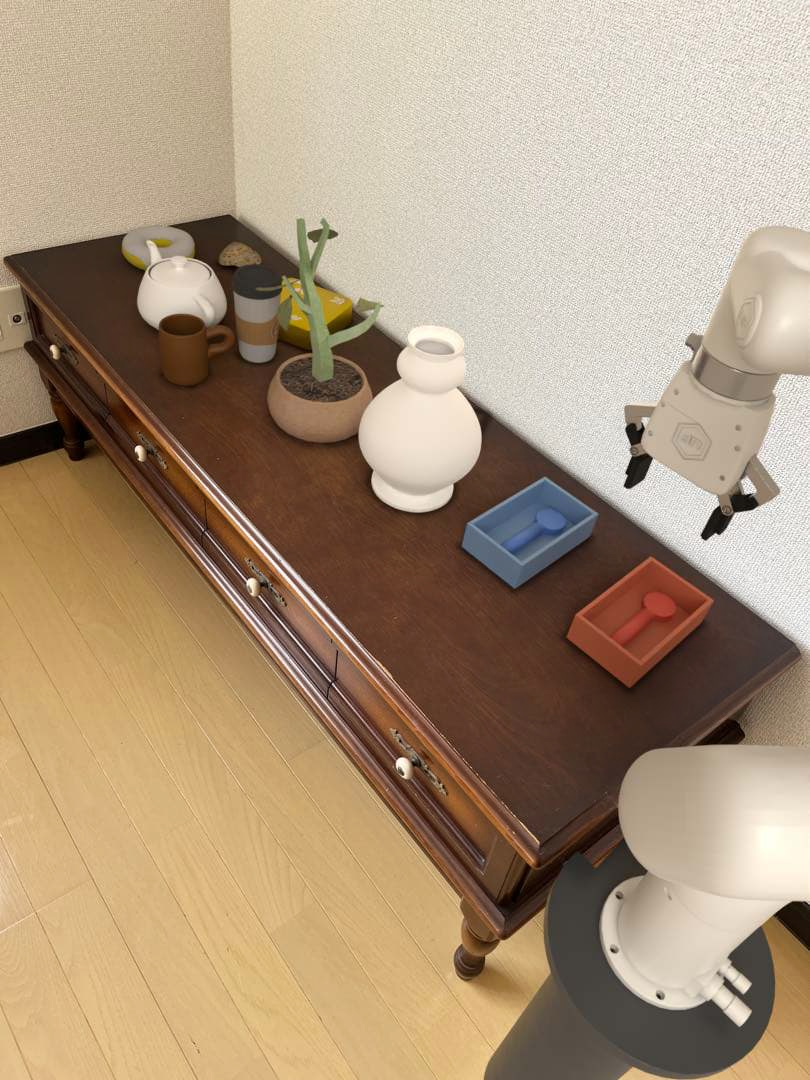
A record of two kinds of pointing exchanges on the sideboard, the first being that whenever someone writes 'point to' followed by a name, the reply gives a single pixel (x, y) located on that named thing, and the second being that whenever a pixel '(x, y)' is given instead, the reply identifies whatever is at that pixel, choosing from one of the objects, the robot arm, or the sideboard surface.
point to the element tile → (333, 310)
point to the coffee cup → (256, 311)
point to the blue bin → (517, 516)
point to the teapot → (180, 290)
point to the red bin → (624, 604)
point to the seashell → (239, 255)
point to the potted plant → (318, 361)
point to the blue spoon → (537, 529)
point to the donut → (165, 240)
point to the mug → (189, 347)
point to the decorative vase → (422, 425)
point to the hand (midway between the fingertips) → (670, 508)
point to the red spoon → (646, 616)
